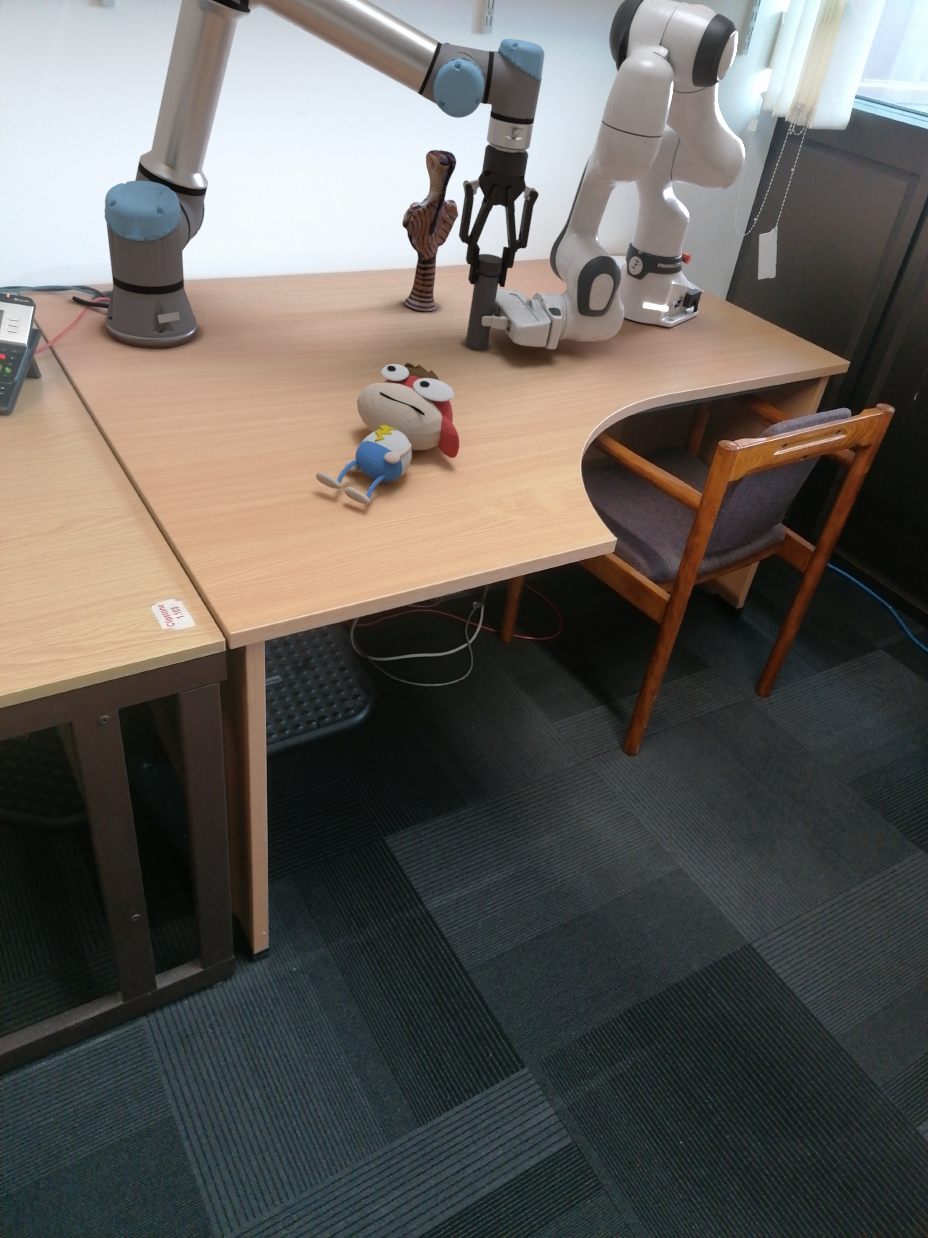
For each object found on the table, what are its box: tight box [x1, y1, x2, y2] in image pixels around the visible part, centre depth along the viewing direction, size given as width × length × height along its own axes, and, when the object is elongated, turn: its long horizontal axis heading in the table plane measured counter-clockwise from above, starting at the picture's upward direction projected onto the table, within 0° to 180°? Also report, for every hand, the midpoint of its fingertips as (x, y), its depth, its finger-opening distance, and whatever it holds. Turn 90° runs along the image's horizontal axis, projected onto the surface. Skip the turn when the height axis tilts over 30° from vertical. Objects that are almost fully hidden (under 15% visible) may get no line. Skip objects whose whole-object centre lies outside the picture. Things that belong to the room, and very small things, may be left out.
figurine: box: [401, 149, 459, 312], centre depth 178 cm, size 15×8×30 cm, turn 144°
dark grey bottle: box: [465, 271, 499, 351], centre depth 170 cm, size 4×4×16 cm
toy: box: [315, 362, 460, 505], centre depth 132 cm, size 18×10×30 cm
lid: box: [477, 253, 504, 275], centre depth 165 cm, size 5×5×2 cm
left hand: (486, 282), depth 167 cm, fingers closed on lid, 5 cm apart
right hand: (477, 313), depth 170 cm, fingers closed on dark grey bottle, 4 cm apart
